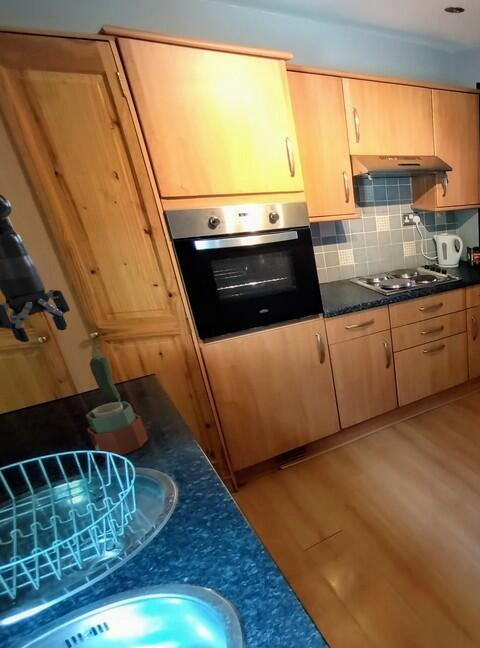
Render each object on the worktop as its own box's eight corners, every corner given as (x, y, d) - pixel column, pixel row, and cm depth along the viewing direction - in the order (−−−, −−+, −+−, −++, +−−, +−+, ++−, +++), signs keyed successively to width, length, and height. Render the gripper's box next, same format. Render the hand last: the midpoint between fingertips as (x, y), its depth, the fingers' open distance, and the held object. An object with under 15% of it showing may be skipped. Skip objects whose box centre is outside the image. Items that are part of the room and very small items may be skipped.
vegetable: (104, 408, 138) (79, 348, 129) (108, 402, 141) (84, 343, 133) (122, 405, 139) (98, 346, 131) (126, 399, 143) (103, 341, 135)
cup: (110, 446, 116) (97, 416, 112) (102, 439, 119) (89, 409, 115) (137, 435, 120) (125, 406, 117) (128, 428, 123) (116, 400, 119)
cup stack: (108, 461, 114) (92, 424, 110) (92, 448, 119) (76, 413, 115) (153, 441, 122) (140, 406, 118) (137, 430, 127) (123, 396, 122)
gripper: (38, 267, 118) (62, 325, 124) (-33, 280, 105) (-1, 344, 112) (60, 268, 116) (84, 327, 123) (-8, 282, 104) (22, 347, 110)
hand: (44, 335), depth 117 cm, fingers open, 8 cm apart
